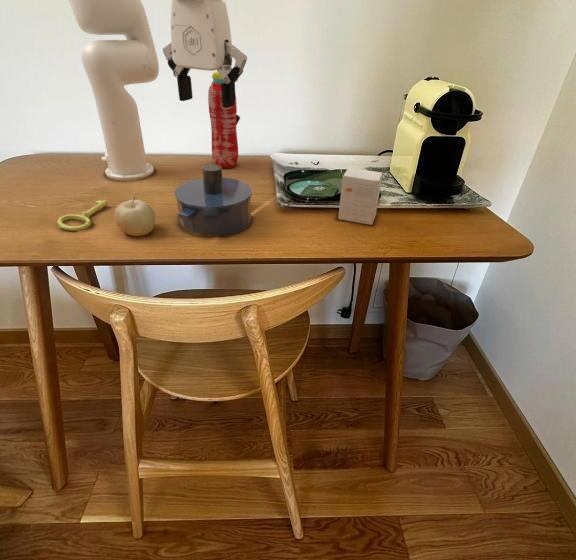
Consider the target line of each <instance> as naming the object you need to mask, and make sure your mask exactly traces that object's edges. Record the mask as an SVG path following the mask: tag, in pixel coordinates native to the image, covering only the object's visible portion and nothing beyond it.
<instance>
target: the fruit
mask: <svg viewBox="0 0 576 560" xmlns="http://www.w3.org/2000/svg"><path fill="white" fill-rule="evenodd" d="M136 198H137V197H136V196H133V198H132V199H129V200H126V201H123V202H121V203H120V204H118V205H117V206H116V207H115V211H114V212H113V218H114V221H115V224H116V226H117V227H118V228H119V229H120V230H121V232H123V233H125V235H128V236H130V237H142V236H146V235H148V234H150V233H151V232H152V231H153V230H154V228H155V225H156V215H155V212H154V210H153V208H152V207H151V206H150V204H149V203H147V202H145V201H143V200H140V199H136Z"/></svg>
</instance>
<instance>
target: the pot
mask: <svg viewBox="0 0 576 560" xmlns="http://www.w3.org/2000/svg"><path fill="white" fill-rule="evenodd" d="M251 201H252V200H251V198H250V199H249V200H247V201H246V202H244V203H242V204H240V205H237V206H234V207H230V208H224V209H198V208H193V207H189V206H186V205H183V204H181V203H180V202H178V201H177V200H176V203H177V217H178V220H179V225H180V226H181V227H183V229H185V230H187V231H189V232H191V233H193V234H194V233H195V234H199V235H205V236H216V238H220V237H221V238H222V237H228V236H232V235H235V234H238V233H241V232H243V231H244V230H245V229H246V228H248V227H249V225H250V223H251V221H252V220H251V219H252V210H251V209H252V207H251Z"/></svg>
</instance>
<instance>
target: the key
mask: <svg viewBox="0 0 576 560" xmlns="http://www.w3.org/2000/svg"><path fill="white" fill-rule="evenodd" d="M94 204H95V205H94V206H93V207H91V208H90V209H88V210H87V211H81V214H77V213H72V214H65V215H62V216H60V217H59V218H58V219H57V225H58V226H59V228H60V229H62V230H65V231H70V232H78V231H79V230H84V229H88V228H89V227H91V226H92V221H91V219H90V218H91V216H93V215H94V214H96V213H97V212H99V211H100V210H101V209H104V207H106V206H108V205H109V201H108V200H107V199H103V200H100V199H97V200H96V201H95V202H94ZM68 220H78V221H82V222H84V224H81V225H68V224H65V223H63V222H65V221H68Z"/></svg>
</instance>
